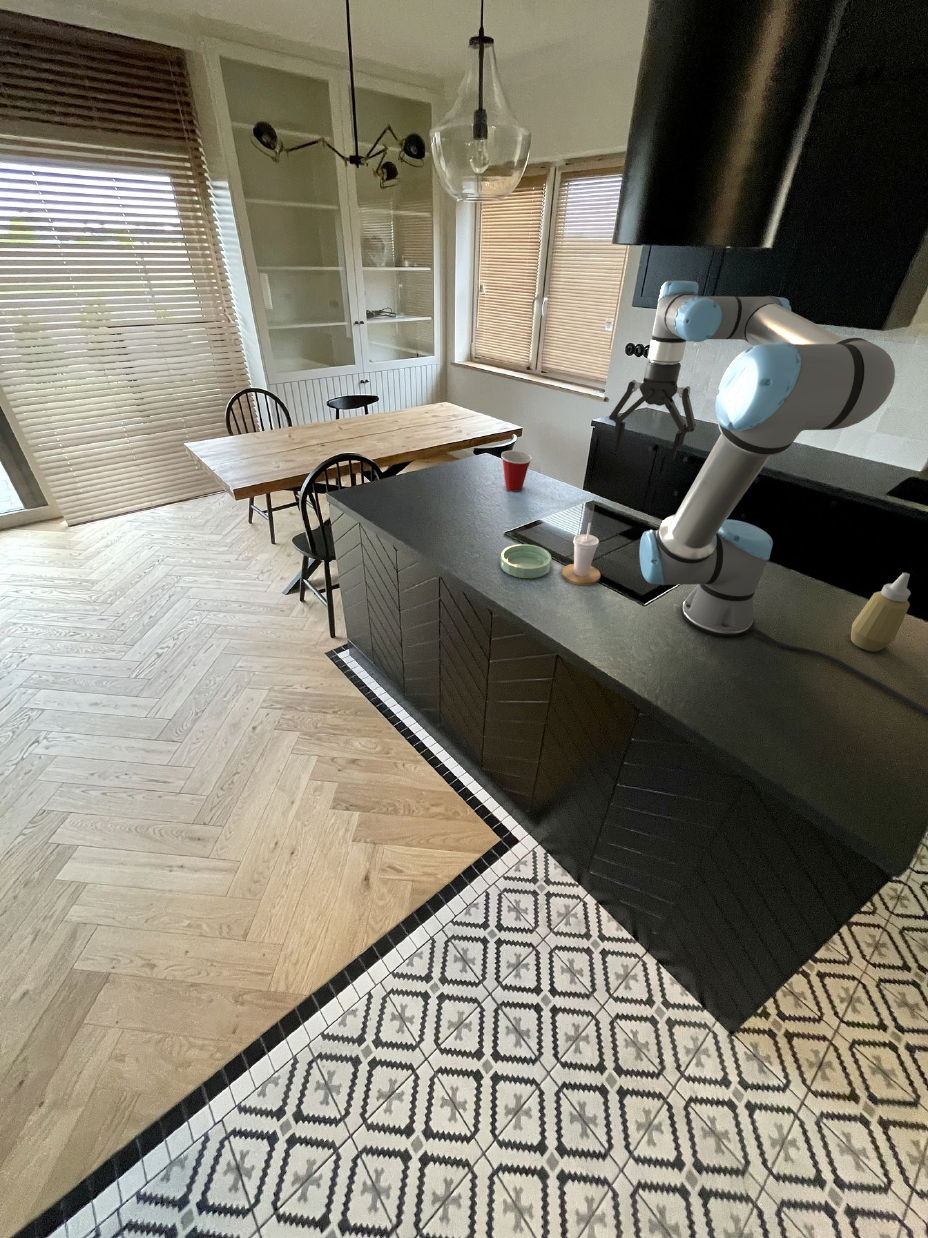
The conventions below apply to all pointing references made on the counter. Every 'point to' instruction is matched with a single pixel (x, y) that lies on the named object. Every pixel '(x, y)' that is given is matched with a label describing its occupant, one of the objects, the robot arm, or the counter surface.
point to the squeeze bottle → (882, 616)
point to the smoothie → (584, 552)
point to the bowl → (525, 561)
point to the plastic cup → (515, 468)
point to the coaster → (580, 580)
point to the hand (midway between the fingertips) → (644, 454)
